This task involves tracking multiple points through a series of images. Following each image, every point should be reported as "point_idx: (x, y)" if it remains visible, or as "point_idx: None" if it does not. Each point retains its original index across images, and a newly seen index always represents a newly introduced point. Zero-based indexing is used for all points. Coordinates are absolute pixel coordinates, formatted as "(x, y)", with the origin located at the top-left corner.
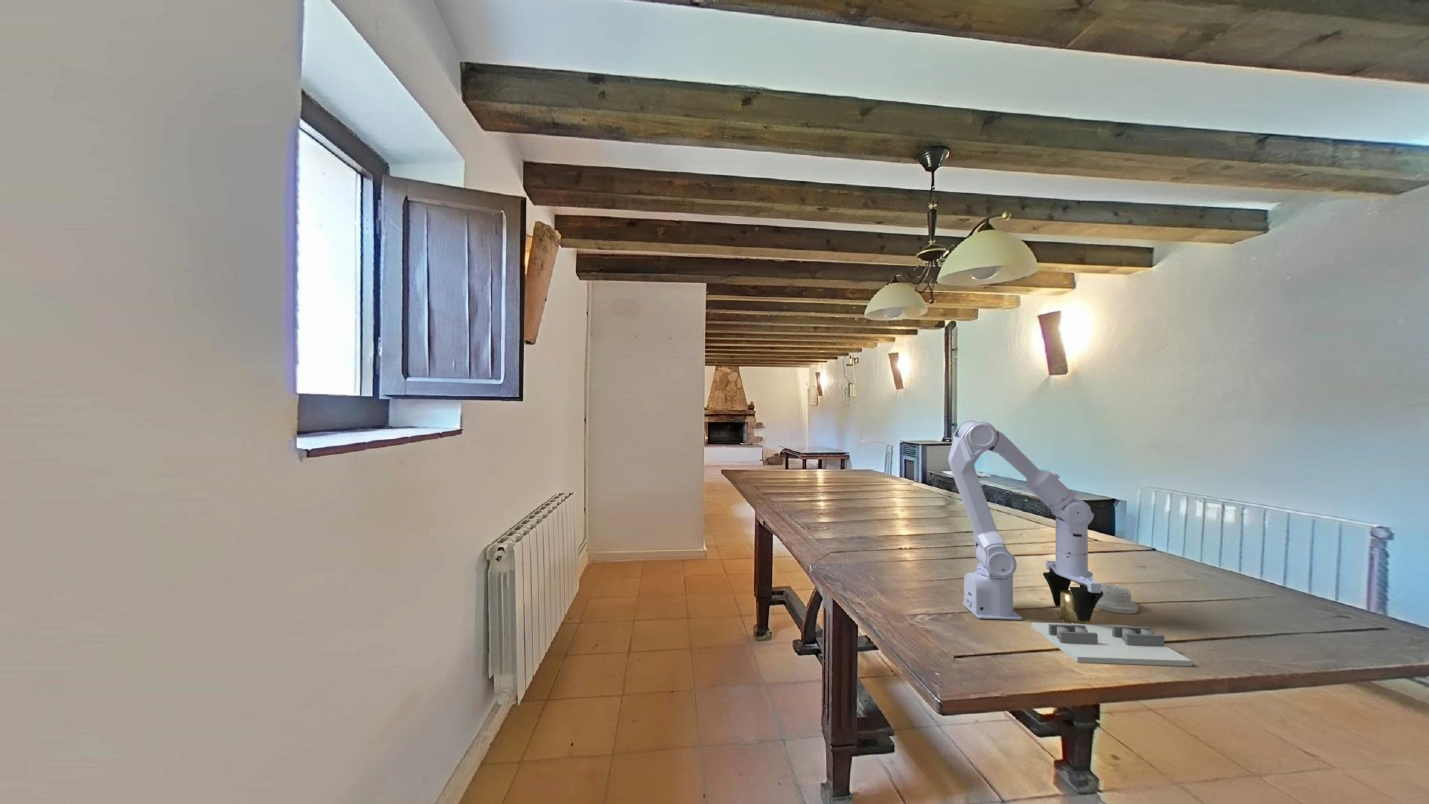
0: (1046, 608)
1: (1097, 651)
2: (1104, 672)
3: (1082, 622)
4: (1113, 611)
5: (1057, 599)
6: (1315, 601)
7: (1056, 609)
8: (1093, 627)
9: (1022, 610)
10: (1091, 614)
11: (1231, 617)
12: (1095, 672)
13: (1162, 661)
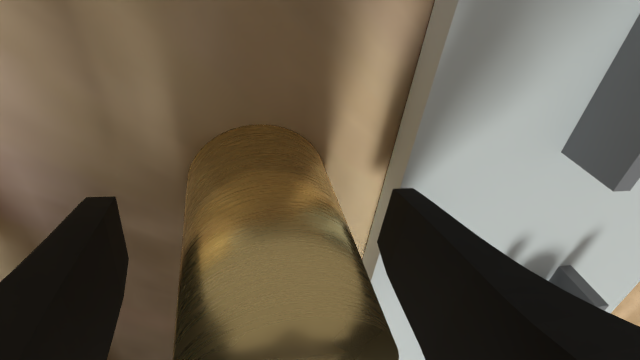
0: (32, 234)
1: (598, 291)
2: (632, 297)
3: (318, 156)
4: None
5: (113, 304)
6: None
7: (28, 175)
8: (448, 183)
9: (126, 353)
10: (450, 219)
11: None
12: (617, 315)
13: None
